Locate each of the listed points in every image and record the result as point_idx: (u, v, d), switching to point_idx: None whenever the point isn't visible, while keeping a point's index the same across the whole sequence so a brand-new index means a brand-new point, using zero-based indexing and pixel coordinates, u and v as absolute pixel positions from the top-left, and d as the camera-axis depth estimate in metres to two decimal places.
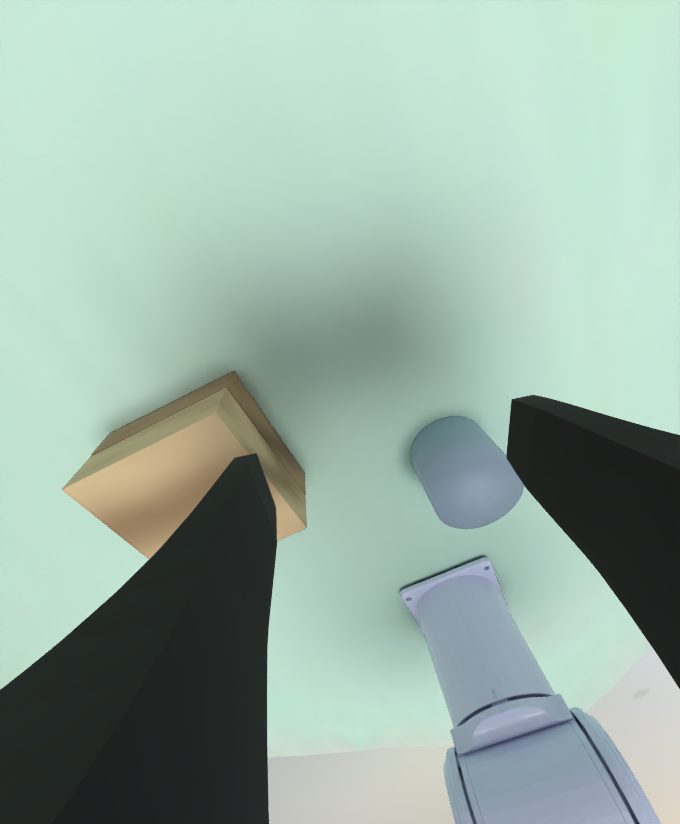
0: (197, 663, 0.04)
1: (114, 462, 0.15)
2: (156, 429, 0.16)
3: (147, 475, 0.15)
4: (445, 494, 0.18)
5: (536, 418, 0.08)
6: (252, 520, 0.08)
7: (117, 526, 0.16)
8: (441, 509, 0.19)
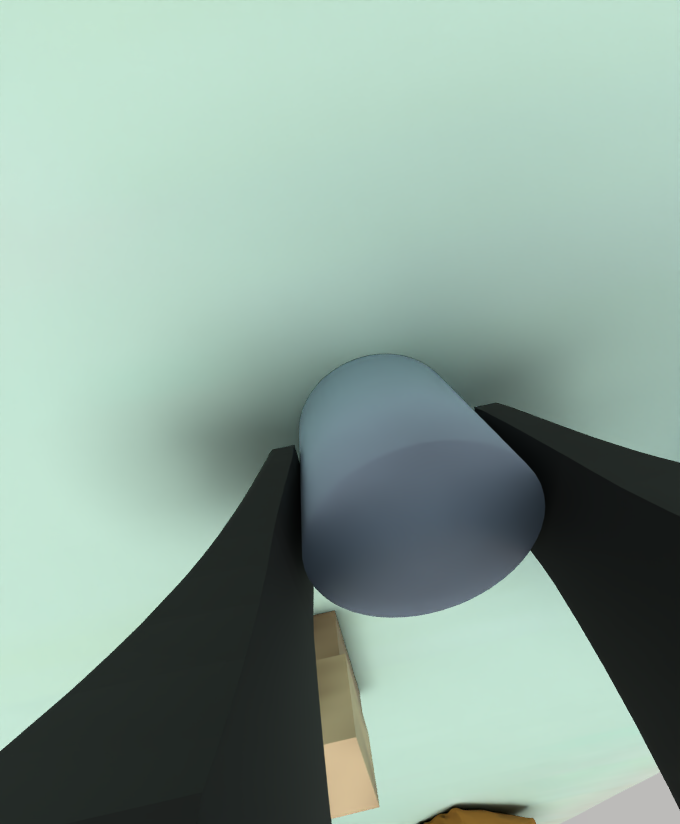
0: (274, 644, 0.04)
1: None
2: None
3: None
4: (379, 602, 0.08)
5: (495, 427, 0.08)
6: (296, 510, 0.08)
7: None
8: (422, 607, 0.08)
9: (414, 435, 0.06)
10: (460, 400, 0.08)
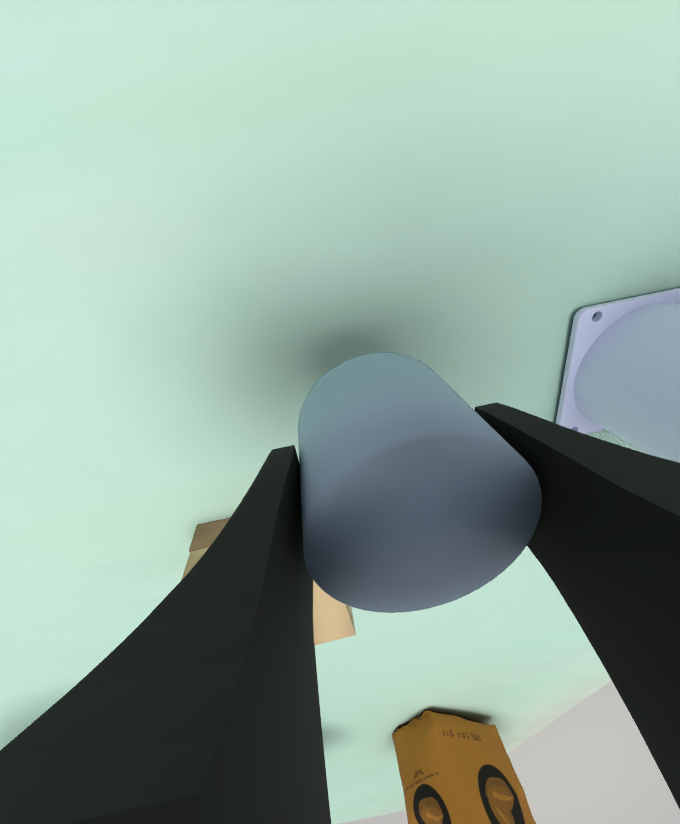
0: (273, 645, 0.04)
1: None
2: None
3: None
4: (380, 598, 0.08)
5: (495, 426, 0.08)
6: (296, 510, 0.08)
7: None
8: (422, 601, 0.08)
9: (413, 431, 0.06)
10: (457, 397, 0.08)
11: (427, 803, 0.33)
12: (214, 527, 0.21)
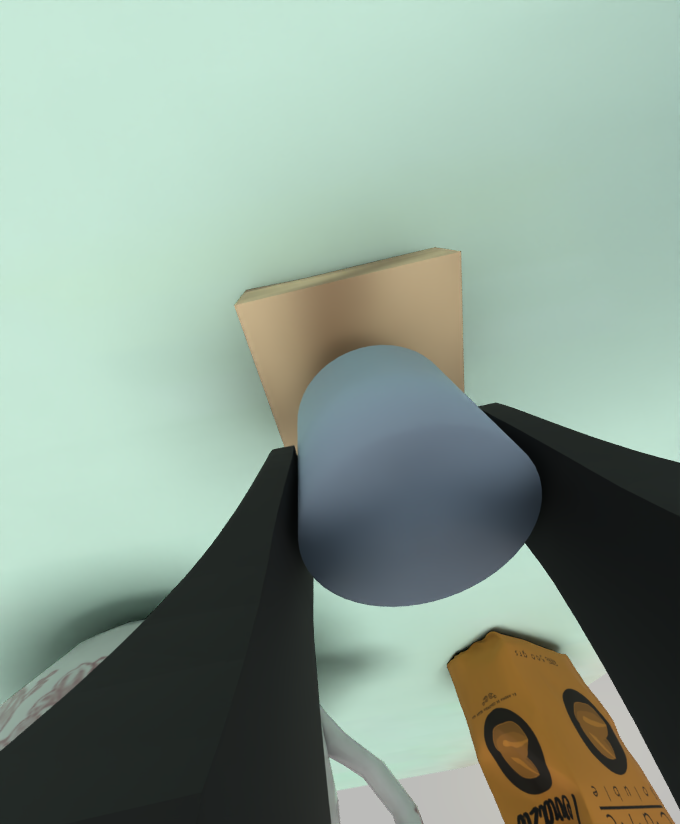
0: (273, 645, 0.04)
1: (278, 428, 0.14)
2: None
3: None
4: (371, 590, 0.08)
5: None
6: (296, 510, 0.08)
7: None
8: (413, 597, 0.08)
9: (418, 419, 0.06)
10: (462, 392, 0.08)
11: (505, 729, 0.27)
12: None
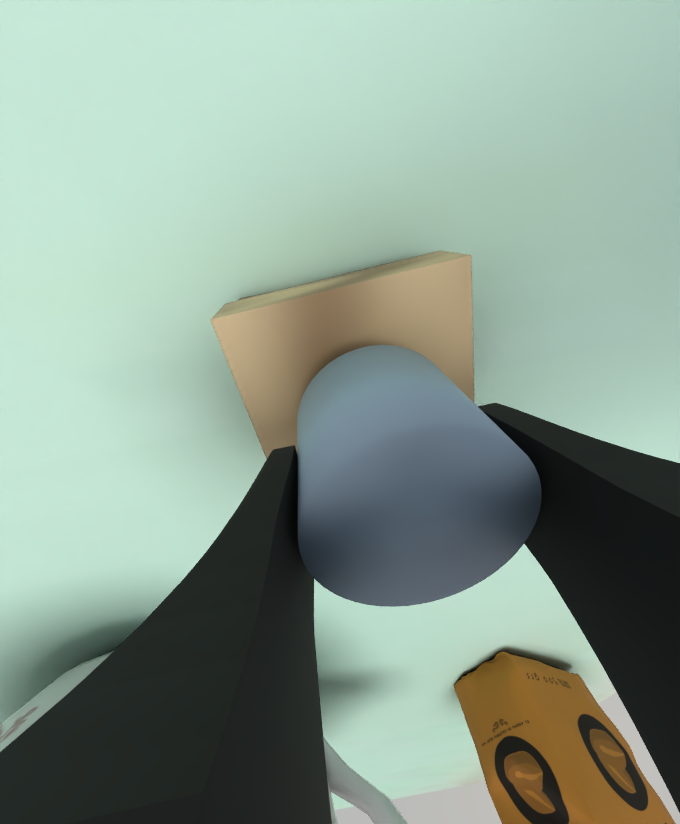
0: (275, 645, 0.04)
1: (266, 455, 0.13)
2: None
3: (291, 432, 0.12)
4: (371, 590, 0.08)
5: None
6: (297, 510, 0.08)
7: None
8: (412, 596, 0.08)
9: (418, 419, 0.06)
10: (462, 392, 0.08)
11: (517, 759, 0.26)
12: None
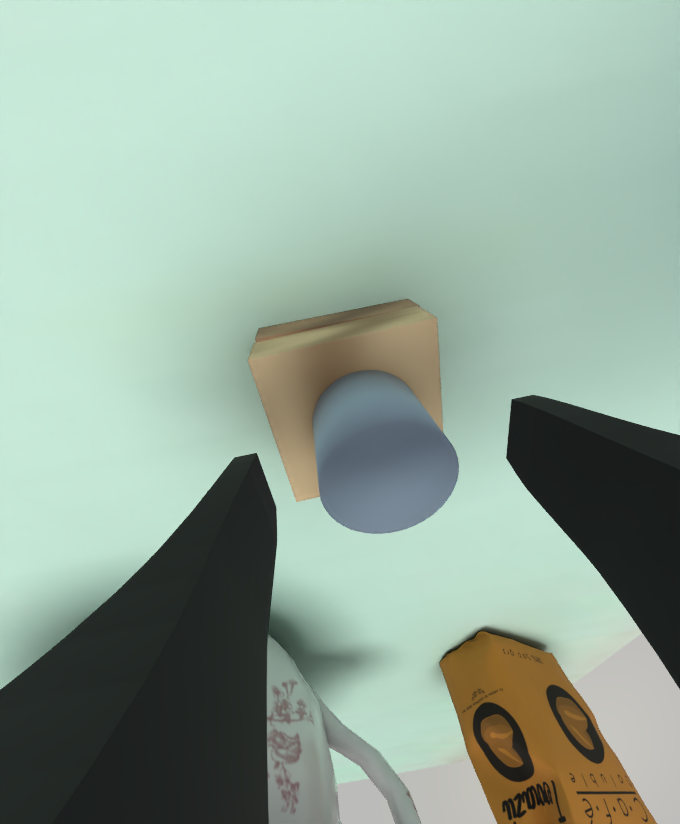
0: (197, 661, 0.04)
1: (282, 458, 0.16)
2: None
3: (302, 441, 0.16)
4: (359, 521, 0.13)
5: (536, 418, 0.08)
6: (252, 520, 0.08)
7: None
8: (385, 527, 0.13)
9: (387, 417, 0.11)
10: (418, 403, 0.13)
11: (492, 721, 0.29)
12: (281, 326, 0.17)
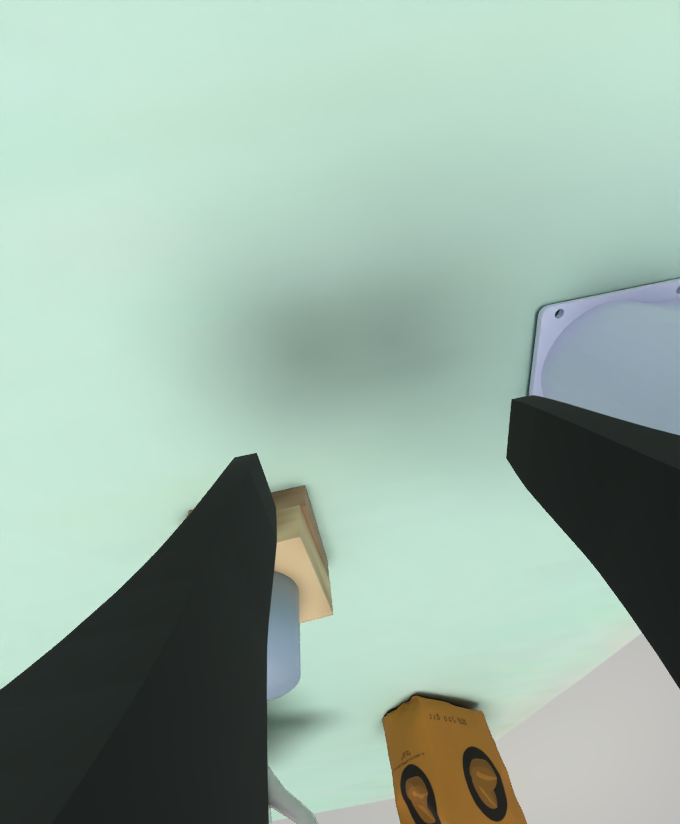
0: (197, 661, 0.04)
1: None
2: None
3: None
4: None
5: (536, 418, 0.08)
6: (252, 520, 0.08)
7: None
8: None
9: None
10: (278, 611, 0.18)
11: (413, 782, 0.34)
12: None
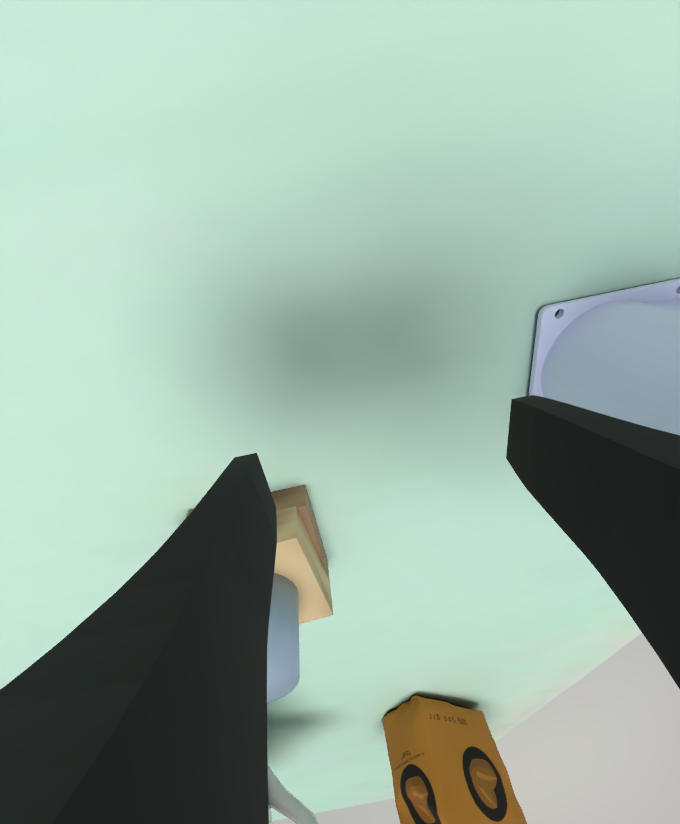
0: (197, 661, 0.04)
1: None
2: None
3: None
4: None
5: (536, 418, 0.08)
6: (252, 520, 0.08)
7: None
8: None
9: None
10: (276, 612, 0.18)
11: (413, 782, 0.34)
12: None
